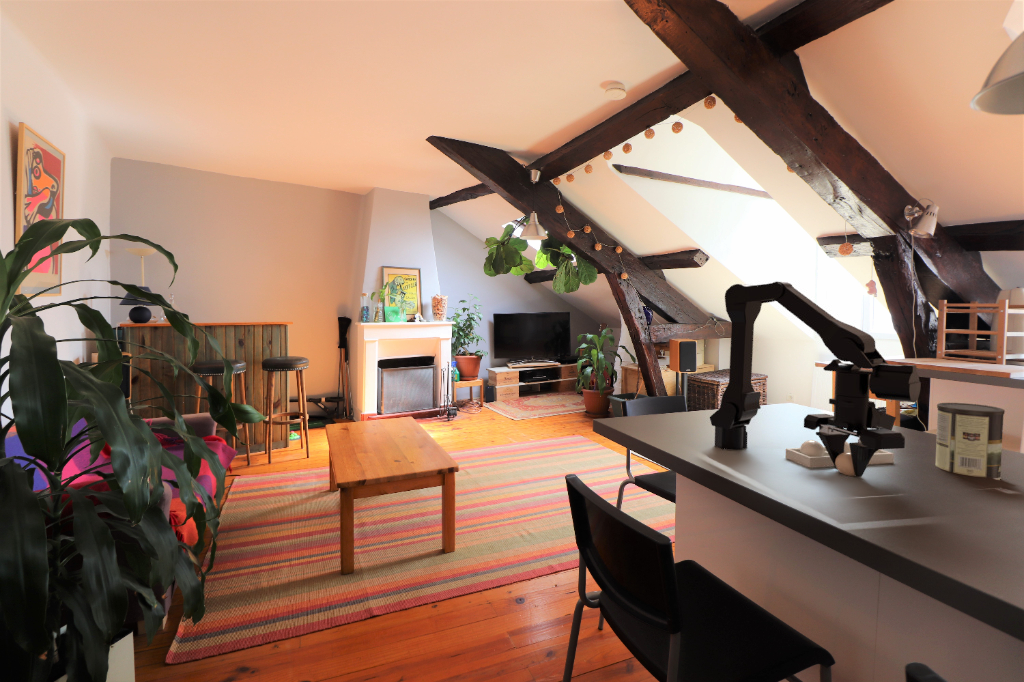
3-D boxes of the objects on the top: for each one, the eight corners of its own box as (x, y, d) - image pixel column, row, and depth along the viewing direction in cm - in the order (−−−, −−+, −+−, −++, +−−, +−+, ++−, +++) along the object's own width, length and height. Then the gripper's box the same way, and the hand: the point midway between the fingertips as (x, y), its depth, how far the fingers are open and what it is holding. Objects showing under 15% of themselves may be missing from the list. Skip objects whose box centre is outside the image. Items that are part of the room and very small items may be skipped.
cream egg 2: (837, 463, 108) (838, 442, 108) (821, 457, 113) (821, 437, 112) (856, 462, 109) (857, 441, 109) (839, 456, 113) (840, 436, 113)
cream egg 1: (810, 465, 107) (811, 443, 107) (794, 458, 112) (795, 438, 111) (829, 464, 108) (830, 442, 108) (813, 457, 112) (814, 437, 112)
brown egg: (847, 479, 98) (848, 456, 98) (829, 472, 103) (830, 450, 103) (868, 478, 99) (869, 455, 99) (848, 471, 104) (849, 449, 103)
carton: (809, 471, 106) (809, 457, 105) (785, 461, 113) (785, 448, 113) (893, 467, 109) (893, 453, 109) (864, 457, 116) (865, 444, 116)
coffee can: (977, 468, 109) (981, 403, 108) (1014, 484, 98) (1018, 412, 98) (922, 465, 111) (926, 401, 110) (953, 480, 101) (957, 410, 100)
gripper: (932, 402, 92) (928, 486, 93) (848, 387, 111) (845, 457, 111) (879, 404, 90) (876, 489, 91) (803, 388, 109) (800, 460, 110)
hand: (848, 472), depth 101 cm, fingers closed on brown egg, 4 cm apart
